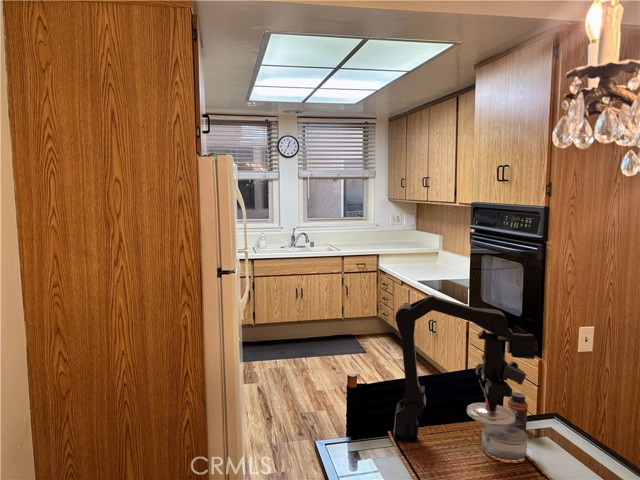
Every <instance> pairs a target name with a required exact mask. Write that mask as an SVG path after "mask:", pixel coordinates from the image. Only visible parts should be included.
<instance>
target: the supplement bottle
mask: <svg viewBox="0 0 640 480" xmlns="http://www.w3.org/2000/svg"><path fill="white" fill-rule="evenodd" d="M528 407H529V406H528V403H527V401H526V395H525V394H524V393H522V392H518V391H517V392H516V391H514V392H513V391H512V397H510V398H509V399H508V401H507V407H506V408H507V409H509V410H511V411H512V412H513V413H514V414H515V422H514V423H513V424H511V425H512V426H515V427H517V428H519V429H521V430H523V431H524V432H526V431H527V423H528V422H527V421H528Z"/></svg>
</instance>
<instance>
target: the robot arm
mask: <svg viewBox="0 0 640 480" xmlns="http://www.w3.org/2000/svg"><path fill="white" fill-rule="evenodd" d="M432 311H434V312H438V313H441V314H444V315H448V316H451V317H453V318H457V319H460V320H464V321H468V322H471V323H473V324H475V325H477V326H478V327H480V328H482V331H480V332H478V333H477V338H478V339H479V340H483V355H481V360H482V363H478V364H477V365H476V366H475V374H476V375H477V376H480V375H481V377H478V382H479V384H480V387H481V390H482V393H483V396H484V398H485V400H486V398H487V401H488V405H489V408H490V411H495V409H496V406H497V405H498V403H499V400H500V399H501V397H508V398H512V393H513V388H512V387H511V385H509V383H508V382H507V381H508V380H510V381H513V382H515V383H517V384H518V385H520V386H521V385H523V383H524V381H525V379H526V377H527V374H526V373H525V371H524V370H522V369H521V368H519V364H518V362H516V361H514V360H511V361H509V362H508V361H507V360H506V351H507V353H508V354H510V356H511V358H517V359H525V360H535V358H536V346H535V345H536V344H535V336H534V335H533V334H532V333H525V334H524V333H516V332H515V333H514V332H513V330H512V329H511V328H509V320H508V318H507V317H506V316H505V314H504V313H503V312H502V311H500V310H499V309H492V308H484V307H483V308H482V307H481V308H480V307H479V308H478V307H474V306H468V305H466V304H462V303H459V302H455V301H452V300H448V299H446V298H442V297H439V296H436V295H434V294H428V295H427V296H426V297H424V298H422V299H419V300H417V301H414V302H412V303H411V304H402V305H401V306H400V307H398V308H397V311H396V313H395V318H394V319H395V323H396V327H397V330H398V333H399V335H400V339H401V345H402V346H401V349H402V358H403V369H404V370H403V371H404V380H405V387H404V397H403V399H401V400H400V401H399V402H397V405H396V411H395V413H394V414H395V415H394V426H393V440H394V441H401V442H410V443H417V439H418V438H419V426H420V425H419V421H418V418H417V417H419V416H421V415H422V414H423V413H424V408H426V405H427V396H426V395H425V391H426V390H425V388H426V386H425V385H420V382H419V375H418V374H419V373H418V363H417V362H418V361H417V354H416V353H417V351H416V341H415V330H416V323H417V322H416V321H417V320H419V319H421V318H423V317H424V316H425V315H427V314H428V313H430V312H432ZM487 331H488V332H487ZM499 335H501V336H499ZM506 344H507V345H506Z"/></svg>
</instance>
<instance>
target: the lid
mask: <svg viewBox="0 0 640 480" xmlns="http://www.w3.org/2000/svg"><path fill="white" fill-rule="evenodd" d="M466 414H467V415H468V416H469V417H470V418H471V419H473V420H474V421H477V422H479V423H481V424H489V425H495V426H507V425H511V424H513V423H514V422H515V414H514V413H513V412H512V411H511V410H509V409H507V407H505V406H503V405H499V404H497V406H496V409H495V411H490V408H489V405H488V401H487V398H486V399H485V402H473V403H471V404H469V405H467V406H466Z"/></svg>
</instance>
